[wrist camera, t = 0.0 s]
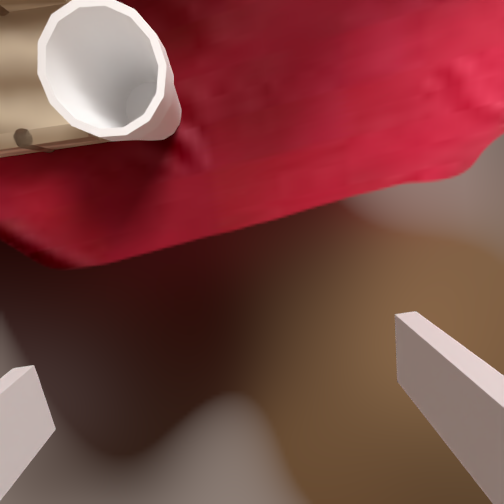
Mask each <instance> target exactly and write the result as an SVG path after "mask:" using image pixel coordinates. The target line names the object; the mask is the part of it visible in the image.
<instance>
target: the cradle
mask: <svg viewBox="0 0 504 504" xmlns="http://www.w3.org/2000/svg"><path fill="white" fill-rule="evenodd" d="M70 1H72V0H0V158H1V157H7V156H14V155H21V154H28V153H35V152H47V153H51V152H53V151H54V150H56V149H63V148H70V147H76V146H83V145H90V144H97V143H104V142H111V141H109V140H106V139H103V138H100V137H98V136H95V135H93V134H90V133H88V132H85V131H83V130H81V129H78V128H76V127H73V126H71V125H70V124H69V123H68V122H67V121H66V120H65V119H64V118H63V117H62V115H61V114H60V113H59V112H58V111H57V110H56V109H55V108H54V107H53V106H52V105H51V104H50V103H49V100H48V98H47V96H46V93H45V91H44V88H43V86H42V83H41V81H40V79H39V76H38V74H37V67H38V40H39V38H40V36H41V34H42V32H43V30H44V28H45V26H46V24H47V22H48V20H49V18H50V16H51V14H52V13H54V12H55V11H57V10H58V9H60V8H61V7H63V6H64V5H66V4H67V3H69V2H70Z"/></svg>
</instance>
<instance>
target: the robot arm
mask: <svg viewBox="0 0 504 504" xmlns="http://www.w3.org/2000/svg"><path fill="white" fill-rule="evenodd" d="M395 330H396V331H395V332H396V356H397V357H396V358H397V382H398V383H399V384H400V385H401V387H402V388H403V389H404V390H405V392H406V393H407V394H408V396H409V397H410V398H411V399H412V401H413V402H414V403H415V405H416V406H417V407H418V408H419V410H420V411H421V412H422V414H423V415H424V416H425V417H426V419H427V420H428V421H429V422H430V424H431V425H432V426H433V428H434V429H435V430H436V431H437V433H438V434H439V435H440V436H441V438H442V439H443V440H444V442H445V443H446V444H447V445H448V447H449V448H450V449H451V451H452V452H453V453H454V454H455V456H456V457H457V458H458V459H459V461H460V462H461V463H462V465H463V466H464V467H465V468H466V470H467V471H468V472H469V474H470V475H471V476H472V477H473V479H474V480H475V481H476V483H477V484H478V485H479V486H480V488H481V489H482V490H483V492H484V493H485V494H486V495H487V496H488V498H489V499H490V500H491V502H492V503H493V504H504V375H502V374H501V373H499V372H498V371H497V370H495V369H494V368H492V367H491V366H490V365H489V364H487V363H486V362H484V361H483V360H481V359H480V358H479V357H478V356H476V355H475V354H473V353H472V352H471V351H469V350H468V349H467V348H465V347H464V346H463V345H461V344H460V343H458V342H457V341H456V340H454V339H453V338H452V337H450V336H449V335H447V334H446V333H445V332H443V331H442V330H441V329H439V328H438V327H437V326H435V325H434V324H432V323H431V322H430V321H428V320H427V319H425V318H424V317H423V316H422V315H420V314H419V313H418V312H416V311H415V312H408V313H402V314H395ZM54 430H55V426H54V423H53V420H52V417H51V414H50V411H49V408H48V405H47V402H46V399H45V396H44V393H43V390H42V387H41V385H40V381H39V378H38V375H37V372H36V370H35V367H34V365H33V366H26V367H19V368H13V369H12V370H11V371H9V372H8V373H7V374H5V375H4V376H3V377H2V378H0V500H1V499H2V498H3V496H4V495H5V494H6V493H7V491H8V490H9V489H10V488H11V486H12V485H13V483H14V482H15V481H16V480H17V479H18V477H19V476H20V475H21V473H22V472H23V471H24V469H25V468H26V467H27V466H28V464H29V463H30V462H31V460H32V459H33V458H34V457H35V455H36V454H37V453H38V451H39V450H40V449H41V448H42V446H43V445H44V443H45V442H46V441H47V440H48V438H49V437H50V436H51V435H52V433H53V432H54Z"/></svg>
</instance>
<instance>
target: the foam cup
mask: <svg viewBox="0 0 504 504" xmlns="http://www.w3.org/2000/svg"><path fill="white" fill-rule="evenodd" d="M37 74H38V76H39V79H40V81H41V83H42V86H43V88H44V91H45V93H46V96H47V98H48V100H49V103H50V104H51V105H52V106H53V107H54V108H55V109H56V110H57V111H58V112H59V113H60V114H61V115H62V117H63V118H64V119H65V120H66V121H67V122H68V123H69V124H70V125H71V126H73V127H76V128H78V129H81V130H83V131H85V132H88V133H90V134H93V135H95V136H98V137H100V138H103V139H106V140H109V141H125V140H148V141H151V140H164V139H166V138H167V137H169V136H171V135H172V134H174V132H175V131H176V129H177V127H178V126H179V124H180V119H181V107H180V103H179V100H178V97H177V93H176V90H175V87H174V83H173V82H174V75H173V72H172V69H171V66H170V63H169V60H168V57H167V54H166V51H165V48H164V46H163V45H162V43H161V41H160V39H159V38H158V36H157V34H156V33H155V32H154V31H153V30H152V29H151V27H150V26H149V25H148V24H147V23H146V22H145V20H144V19H143V18H142V17H141V16H140V15H139V13H138V12H137V11H136V10H135V9H133V8H131V7H129V6H127V5H125V4H122V3H120V2H118V1H116V0H72V1H70V2H69V3H67V4H66V5H64V6H63V7H61V8H60V9H58V10H57V11H55V12H54V13H52V14H51V16H50V18H49V20H48V22H47V24H46V26H45V28H44V30H43V32H42V34H41V36H40V38H39V40H38V67H37Z"/></svg>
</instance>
